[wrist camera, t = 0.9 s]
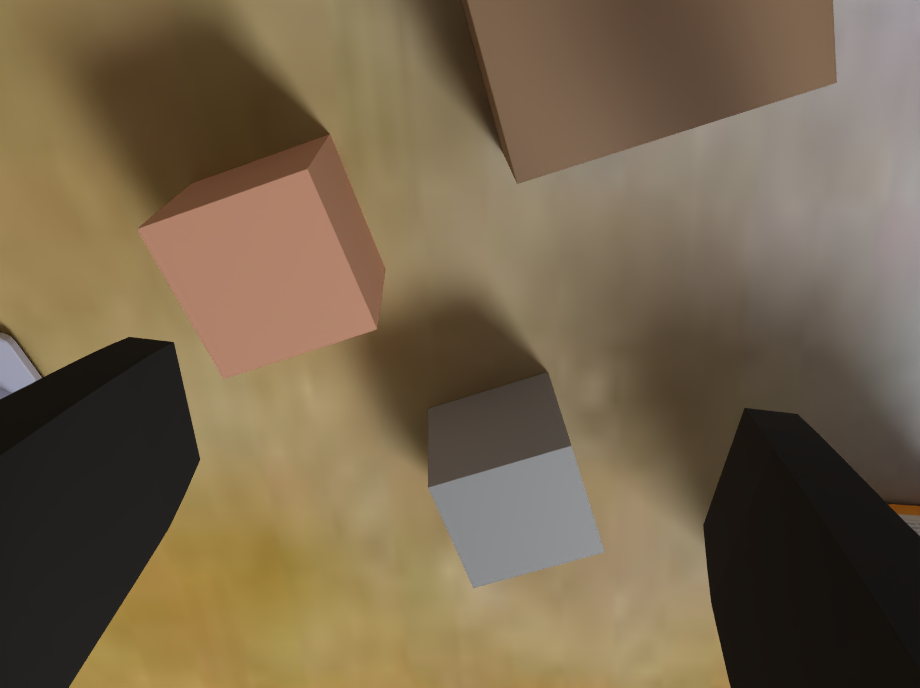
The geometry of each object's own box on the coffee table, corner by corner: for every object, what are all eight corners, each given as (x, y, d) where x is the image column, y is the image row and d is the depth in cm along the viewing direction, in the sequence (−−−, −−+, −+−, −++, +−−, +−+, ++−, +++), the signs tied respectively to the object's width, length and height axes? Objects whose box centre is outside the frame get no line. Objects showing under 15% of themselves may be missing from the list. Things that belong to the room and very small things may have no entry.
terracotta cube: (258, 310, 23) (223, 379, 19) (191, 182, 21) (136, 229, 17) (385, 268, 22) (377, 329, 18) (330, 133, 20) (307, 169, 16)
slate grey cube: (466, 498, 27) (473, 587, 23) (427, 407, 25) (428, 487, 21) (577, 466, 26) (604, 552, 22) (547, 370, 24) (571, 445, 20)
